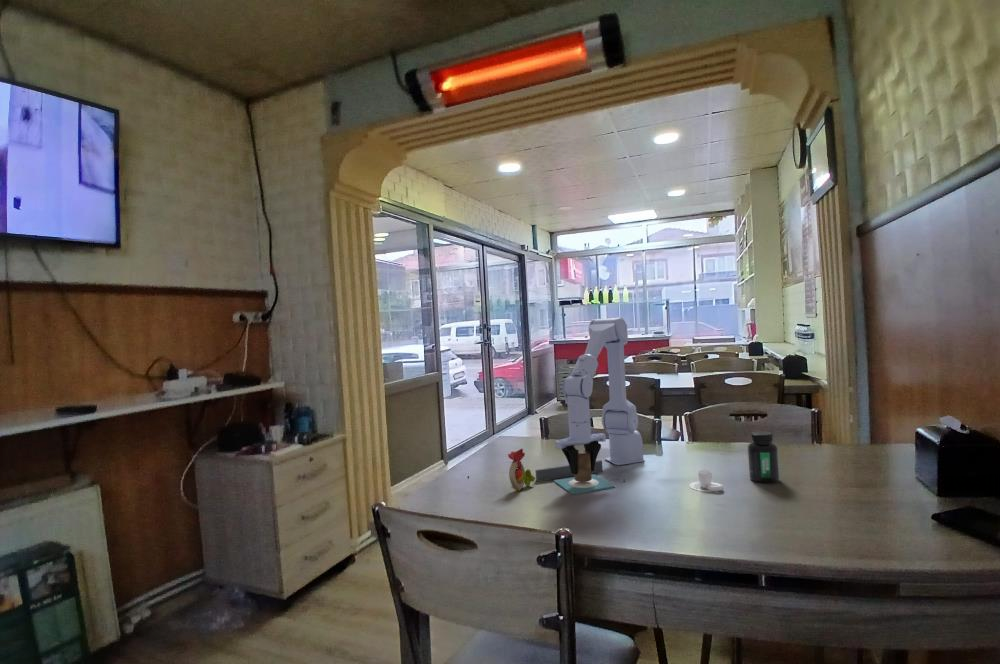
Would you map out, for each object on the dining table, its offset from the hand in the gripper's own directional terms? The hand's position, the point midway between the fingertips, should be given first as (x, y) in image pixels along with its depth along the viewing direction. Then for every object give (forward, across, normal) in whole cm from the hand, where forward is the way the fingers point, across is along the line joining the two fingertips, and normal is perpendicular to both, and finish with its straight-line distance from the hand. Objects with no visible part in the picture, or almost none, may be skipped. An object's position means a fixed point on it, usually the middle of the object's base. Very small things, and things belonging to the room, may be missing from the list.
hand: (582, 471), depth 138 cm
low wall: (+3, -1, -9) cm, 10 cm away
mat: (+3, 0, 0) cm, 3 cm away
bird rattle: (+4, +15, -7) cm, 17 cm away
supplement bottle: (+4, -40, +23) cm, 46 cm away
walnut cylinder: (+2, 0, 0) cm, 2 cm away
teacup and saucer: (+4, -21, +20) cm, 29 cm away
